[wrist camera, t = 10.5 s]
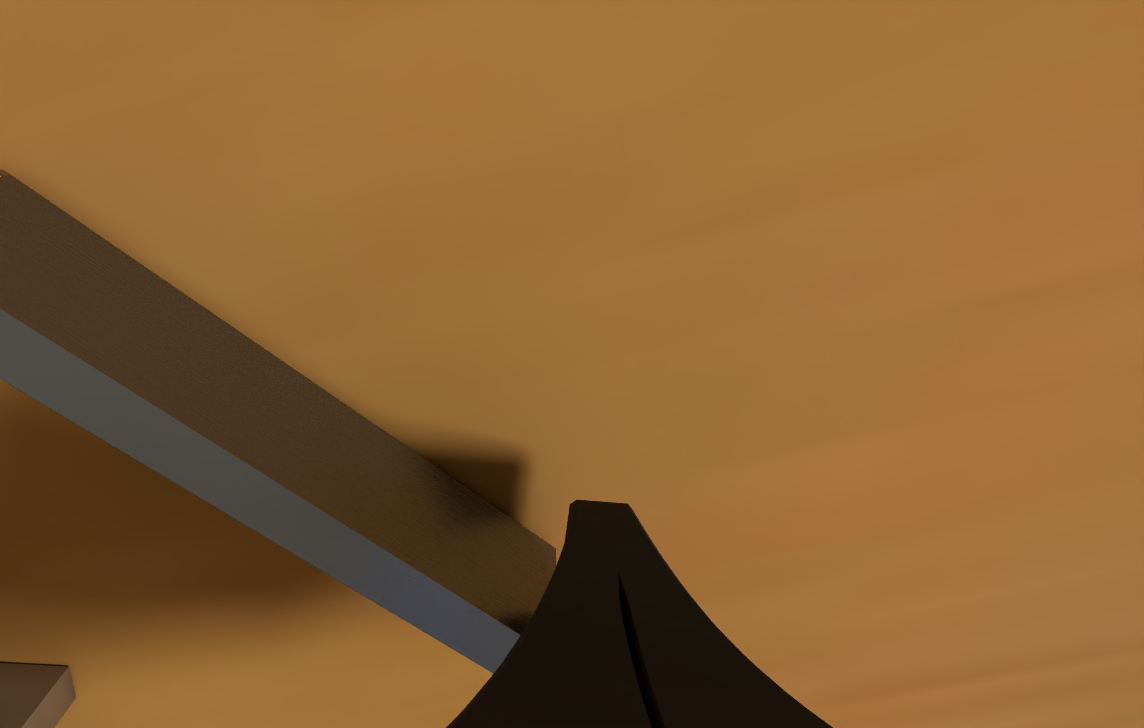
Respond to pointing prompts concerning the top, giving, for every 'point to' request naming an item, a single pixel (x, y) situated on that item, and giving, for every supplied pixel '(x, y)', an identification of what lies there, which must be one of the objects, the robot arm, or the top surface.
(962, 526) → the top surface
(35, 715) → the bay
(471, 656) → the gate
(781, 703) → the robot arm
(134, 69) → the top surface
